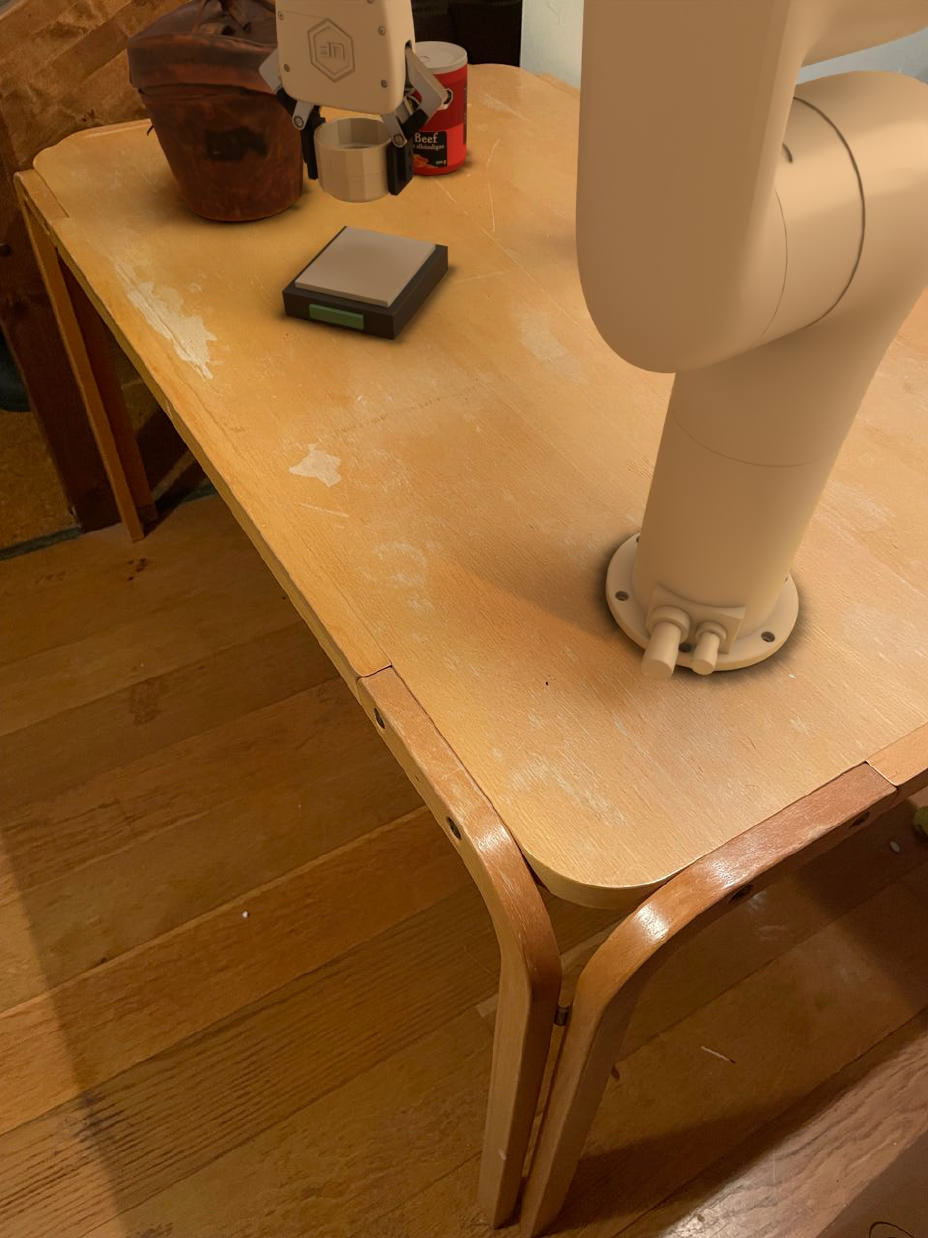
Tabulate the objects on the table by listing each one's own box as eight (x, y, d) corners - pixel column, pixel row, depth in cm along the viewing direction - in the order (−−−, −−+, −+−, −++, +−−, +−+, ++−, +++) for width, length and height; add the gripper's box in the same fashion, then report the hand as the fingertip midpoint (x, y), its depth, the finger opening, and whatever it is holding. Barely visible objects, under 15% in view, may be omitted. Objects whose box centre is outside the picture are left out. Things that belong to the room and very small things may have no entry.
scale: (392, 342, 79) (390, 312, 77) (282, 317, 82) (277, 287, 80) (448, 269, 87) (448, 239, 85) (347, 248, 90) (344, 219, 88)
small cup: (379, 212, 75) (375, 156, 71) (306, 197, 76) (299, 142, 73) (411, 177, 79) (409, 123, 75) (341, 164, 80) (336, 110, 77)
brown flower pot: (278, 141, 106) (251, -42, 92) (360, 209, 95) (344, 14, 81) (133, 178, 99) (80, -12, 86) (203, 255, 89) (156, 52, 75)
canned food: (384, 165, 102) (378, 56, 93) (426, 140, 106) (423, 35, 98) (439, 182, 99) (437, 73, 91) (479, 157, 103) (481, 49, 95)
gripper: (203, -75, 63) (249, 182, 77) (432, -46, 59) (436, 218, 73) (256, -101, 67) (290, 146, 81) (472, -75, 63) (469, 179, 77)
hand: (359, 178), depth 77 cm, fingers closed on small cup, 6 cm apart
